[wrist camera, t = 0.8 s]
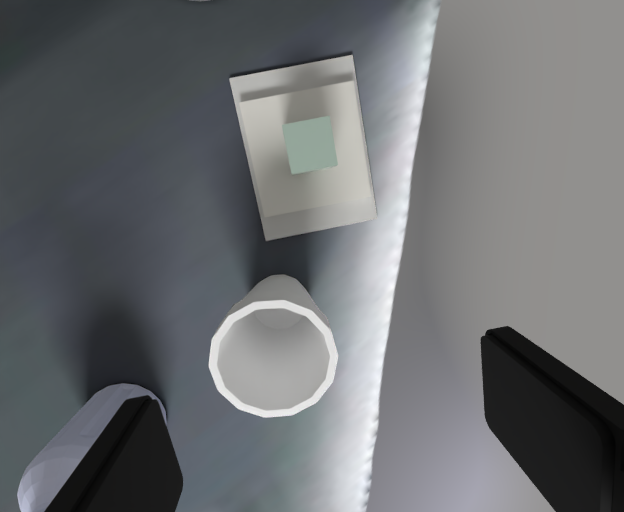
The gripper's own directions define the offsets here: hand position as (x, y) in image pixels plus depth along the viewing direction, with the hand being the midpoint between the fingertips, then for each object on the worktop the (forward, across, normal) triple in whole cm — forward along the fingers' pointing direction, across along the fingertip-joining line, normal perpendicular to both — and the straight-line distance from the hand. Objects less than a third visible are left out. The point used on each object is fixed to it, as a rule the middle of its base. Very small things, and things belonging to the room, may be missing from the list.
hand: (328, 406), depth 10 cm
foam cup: (+28, +3, +7) cm, 29 cm away
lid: (+27, -2, -8) cm, 29 cm away
